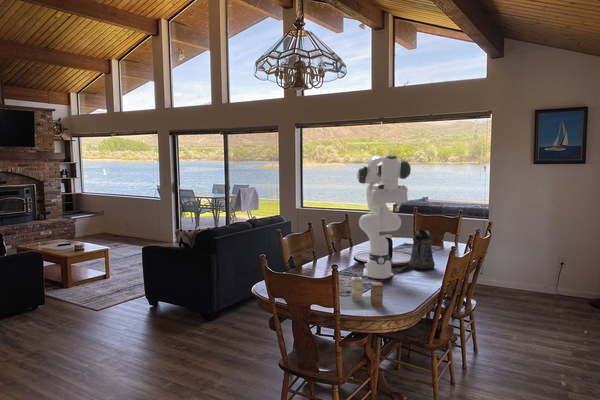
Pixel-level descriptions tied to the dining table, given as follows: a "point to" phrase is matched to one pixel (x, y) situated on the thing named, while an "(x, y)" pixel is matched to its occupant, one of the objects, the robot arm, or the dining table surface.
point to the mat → (358, 304)
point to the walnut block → (376, 294)
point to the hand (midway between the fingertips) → (388, 211)
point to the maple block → (356, 288)
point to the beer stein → (421, 253)
